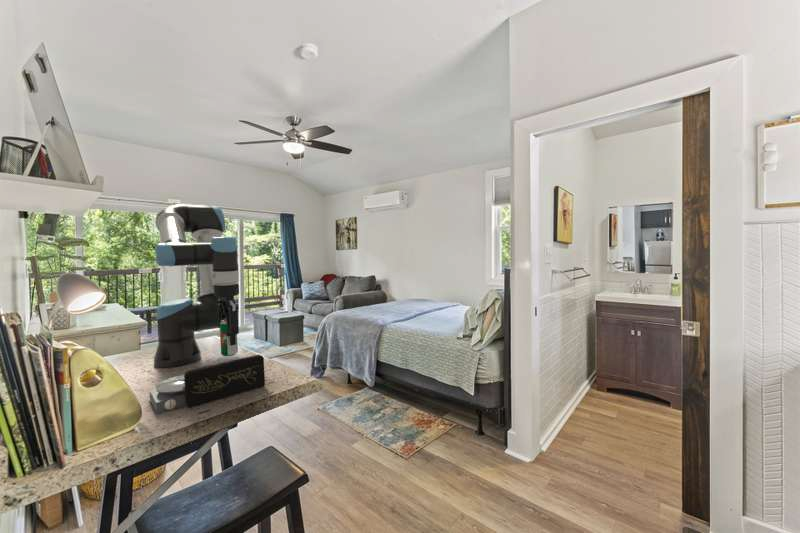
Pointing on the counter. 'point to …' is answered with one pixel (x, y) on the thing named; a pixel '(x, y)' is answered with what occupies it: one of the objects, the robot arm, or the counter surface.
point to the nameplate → (223, 380)
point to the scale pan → (171, 385)
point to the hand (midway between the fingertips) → (229, 351)
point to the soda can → (224, 338)
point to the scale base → (166, 400)
